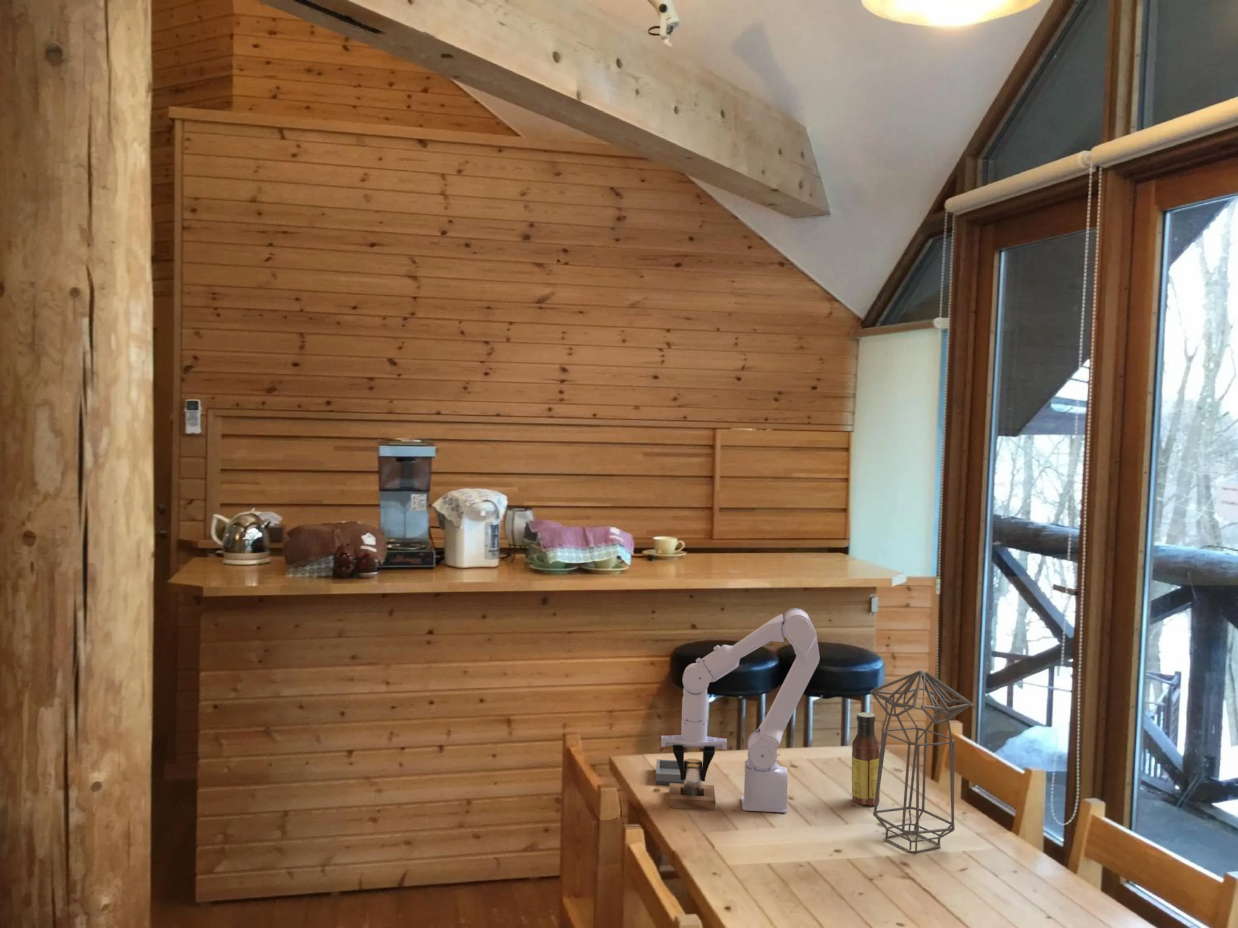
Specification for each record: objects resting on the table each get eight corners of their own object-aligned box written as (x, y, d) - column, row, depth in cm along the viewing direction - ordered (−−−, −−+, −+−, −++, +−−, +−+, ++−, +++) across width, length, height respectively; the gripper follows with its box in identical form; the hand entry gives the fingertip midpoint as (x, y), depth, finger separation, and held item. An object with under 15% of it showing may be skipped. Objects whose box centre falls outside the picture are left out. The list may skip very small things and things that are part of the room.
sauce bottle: (877, 797, 231) (880, 711, 230) (882, 807, 225) (885, 718, 224) (848, 796, 231) (851, 709, 231) (852, 805, 225) (855, 716, 225)
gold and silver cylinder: (701, 789, 227) (702, 758, 227) (701, 795, 223) (702, 764, 223) (683, 788, 227) (684, 757, 227) (683, 795, 223) (684, 763, 223)
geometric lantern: (857, 834, 209) (865, 664, 209) (917, 826, 215) (925, 661, 216) (909, 862, 195) (918, 680, 195) (971, 853, 201) (980, 677, 201)
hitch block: (713, 793, 230) (713, 785, 230) (715, 809, 220) (715, 800, 220) (669, 791, 230) (669, 782, 230) (669, 807, 220) (669, 798, 220)
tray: (700, 771, 245) (700, 761, 245) (701, 786, 235) (701, 775, 235) (656, 769, 246) (656, 759, 246) (655, 783, 235) (655, 773, 235)
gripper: (726, 715, 228) (724, 774, 229) (662, 712, 229) (660, 771, 229) (728, 723, 221) (726, 785, 222) (661, 720, 222) (659, 782, 222)
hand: (692, 779), depth 225 cm, fingers closed on gold and silver cylinder, 4 cm apart
